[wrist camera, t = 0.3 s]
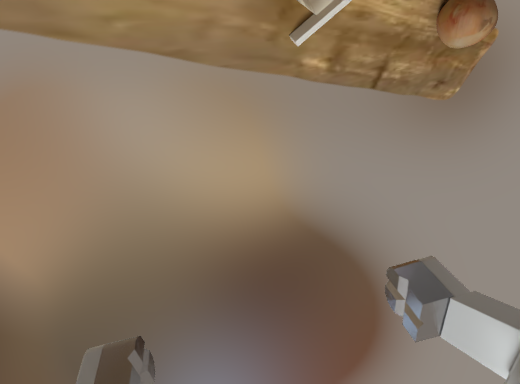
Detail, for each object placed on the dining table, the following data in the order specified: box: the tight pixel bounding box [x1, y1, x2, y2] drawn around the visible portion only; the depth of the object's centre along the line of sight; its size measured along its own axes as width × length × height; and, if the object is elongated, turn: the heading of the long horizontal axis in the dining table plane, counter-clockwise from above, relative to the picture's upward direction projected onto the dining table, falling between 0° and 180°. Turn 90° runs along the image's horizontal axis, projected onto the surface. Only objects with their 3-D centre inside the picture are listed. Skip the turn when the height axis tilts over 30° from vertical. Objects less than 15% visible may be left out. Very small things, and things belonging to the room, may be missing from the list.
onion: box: [437, 0, 498, 48], centre depth 60 cm, size 10×10×10 cm
